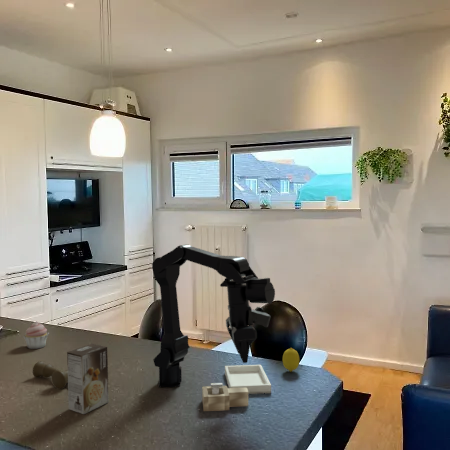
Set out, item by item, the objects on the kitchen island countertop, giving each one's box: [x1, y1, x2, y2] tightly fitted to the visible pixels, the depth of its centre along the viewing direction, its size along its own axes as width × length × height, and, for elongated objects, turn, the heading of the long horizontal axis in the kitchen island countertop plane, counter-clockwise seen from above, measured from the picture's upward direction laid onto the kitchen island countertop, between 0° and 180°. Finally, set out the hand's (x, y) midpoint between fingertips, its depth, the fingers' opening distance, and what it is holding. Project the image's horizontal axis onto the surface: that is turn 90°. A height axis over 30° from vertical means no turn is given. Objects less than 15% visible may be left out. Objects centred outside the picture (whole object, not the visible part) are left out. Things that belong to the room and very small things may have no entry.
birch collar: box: [201, 385, 249, 412], centre depth 131 cm, size 12×7×4 cm, turn 96°
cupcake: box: [23, 321, 50, 350], centre depth 183 cm, size 9×9×10 cm
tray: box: [224, 364, 272, 395], centre depth 147 cm, size 17×12×2 cm
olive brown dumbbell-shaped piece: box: [32, 360, 68, 390], centre depth 148 cm, size 6×10×20 cm
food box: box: [66, 343, 109, 415], centre depth 130 cm, size 9×6×16 cm
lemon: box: [282, 347, 300, 373], centre depth 156 cm, size 6×6×8 cm
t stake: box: [210, 382, 224, 394], centre depth 131 cm, size 4×4×6 cm
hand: (242, 357), depth 132 cm, fingers open, 9 cm apart
